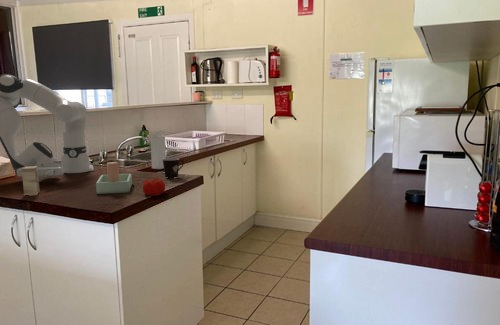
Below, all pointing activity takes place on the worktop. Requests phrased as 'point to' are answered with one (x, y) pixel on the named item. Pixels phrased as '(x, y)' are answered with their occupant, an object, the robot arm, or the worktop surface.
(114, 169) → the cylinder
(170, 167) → the coffee mug
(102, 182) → the tote
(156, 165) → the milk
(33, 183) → the block
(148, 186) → the tomato
